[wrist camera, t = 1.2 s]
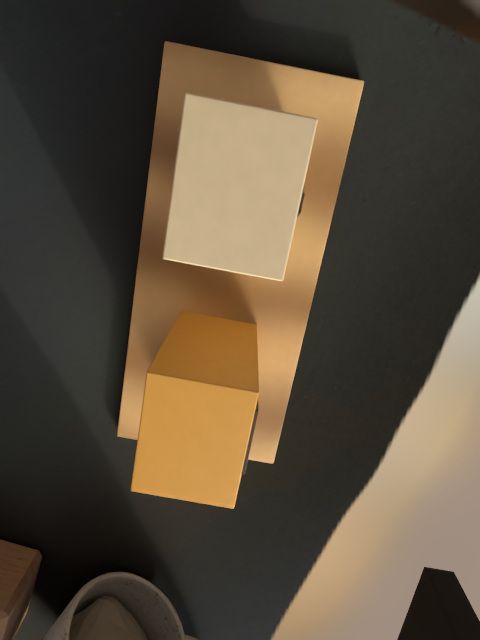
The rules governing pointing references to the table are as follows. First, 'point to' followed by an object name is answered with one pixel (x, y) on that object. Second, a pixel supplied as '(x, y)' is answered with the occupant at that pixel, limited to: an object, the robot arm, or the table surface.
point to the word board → (223, 286)
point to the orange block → (199, 411)
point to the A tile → (237, 186)
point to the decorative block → (16, 585)
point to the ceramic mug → (118, 612)
